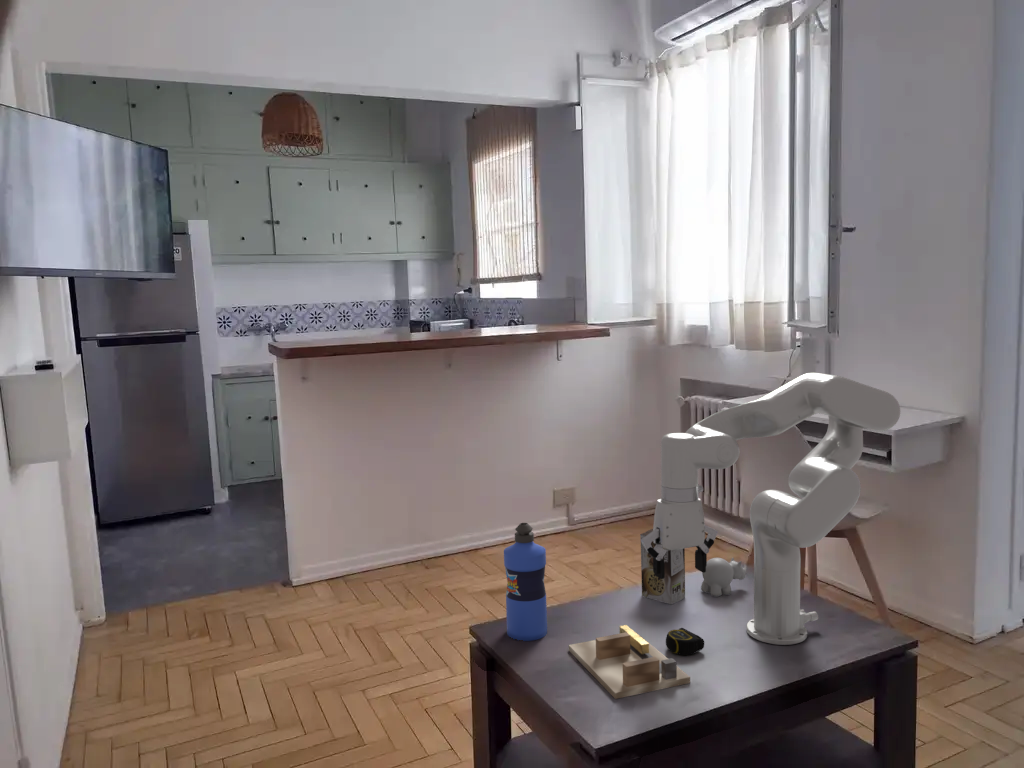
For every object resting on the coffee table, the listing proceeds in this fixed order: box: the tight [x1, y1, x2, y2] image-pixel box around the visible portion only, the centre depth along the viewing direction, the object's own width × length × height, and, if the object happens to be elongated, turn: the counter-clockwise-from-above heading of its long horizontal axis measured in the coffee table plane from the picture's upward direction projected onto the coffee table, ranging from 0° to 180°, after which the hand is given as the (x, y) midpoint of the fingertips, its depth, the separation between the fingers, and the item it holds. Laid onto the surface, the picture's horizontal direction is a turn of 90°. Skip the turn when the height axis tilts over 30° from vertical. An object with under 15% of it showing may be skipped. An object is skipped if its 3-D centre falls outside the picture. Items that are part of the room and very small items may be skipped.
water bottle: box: [503, 522, 548, 642], centre depth 178 cm, size 9×9×25 cm
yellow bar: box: [619, 624, 649, 654], centre depth 168 cm, size 2×10×2 cm, turn 19°
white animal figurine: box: [700, 557, 747, 597], centre depth 199 cm, size 8×12×9 cm, turn 111°
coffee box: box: [639, 528, 686, 605], centre depth 196 cm, size 9×6×16 cm
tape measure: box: [665, 627, 705, 656], centre depth 168 cm, size 7×7×4 cm
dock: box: [568, 631, 691, 700], centre depth 162 cm, size 16×22×5 cm
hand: (680, 573), depth 167 cm, fingers open, 9 cm apart
